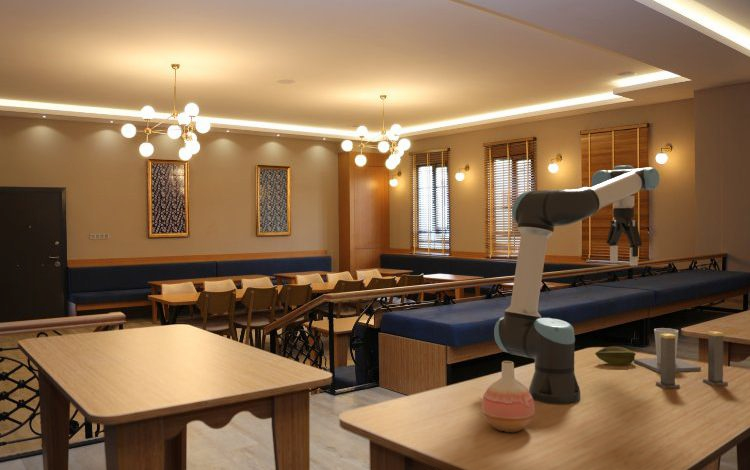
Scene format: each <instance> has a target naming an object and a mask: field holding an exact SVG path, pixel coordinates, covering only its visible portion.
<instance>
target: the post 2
mask: <svg viewBox="0 0 750 470" xmlns="http://www.w3.org/2000/svg"><path fill="white" fill-rule="evenodd" d="M706 335H708V337H707V338H708V340H707V341H708V345H707V346H708V349H707V351H708V352H707V357H708V359H707V361H708V362H707V367H708V368H707V369H708V370H707V378H703V380H702V381H703V383H705V384H708V385H710V386H712V387H721V386H722V387H723V386H728V384H729V382H728V381H726V380H724V374H723V373H724V337H725V335H726V334H725V332H720V331H717V330H716V331H714V330H713V331H706Z"/></svg>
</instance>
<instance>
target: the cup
mask: <svg viewBox="0 0 750 470" xmlns="http://www.w3.org/2000/svg"><path fill="white" fill-rule="evenodd" d="M653 332H654V339H655V340H654V341H655V353H656V358H657V363H658V364H661V337H660V336H659V334H667V333H670V334H673V335H677V338H675V364H676V358H677V351H678V349H677V348H678V339H679V330H678V329H674V328H670V327H669V328H668V327H667V328H665V327H660V328H659V327H658V328H654V329H653Z"/></svg>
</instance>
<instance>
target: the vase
mask: <svg viewBox="0 0 750 470" xmlns="http://www.w3.org/2000/svg"><path fill="white" fill-rule="evenodd" d="M481 412H482V415H483V418H484V419H485V420H486V422H488V424H490V425H491V426H492V427H493V428H494V429H495V430H496V429H497V431H499V430H500V431H499V432H502V431H505V432H504V433H509V432H512V433H518V432H520V430H521V431H522V430H523V429H524V428H525V427H527V426H529V425H530V423H531V422H532V421H533V419H534V416H535V412H536V406H535V400H534V399H533V397H532V395H531V393H530V392H529V388H527V387H526V386H525V385H524V384H523V383H521V382H520V381H519V380H517V379H516V378H515V363H514V362H513V361H511V360H503V361H502V362H501V378H499V379H497V380H495V381H494V382H492V383H491V385H490V386H489V387H487V388H486V390H485V392H484V393H483V396H482V398H481ZM517 431H518V432H517Z"/></svg>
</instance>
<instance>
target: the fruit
mask: <svg viewBox="0 0 750 470" xmlns="http://www.w3.org/2000/svg"><path fill="white" fill-rule="evenodd" d="M594 354H595V355H596V358H598V359H599V360H601V361H603V362H604V363H606V364H609V365H612V366H616V367H625V366H626V367H627V366H628V365H630V364H632V363H634V359H636V358H635V357H636V355H637V354H636V352H634V351H632V350H630V349H629V348H625V347H623V346H617V345H615V346H607V347H603V348H601V349H599V350H598V351H595V353H594Z"/></svg>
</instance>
